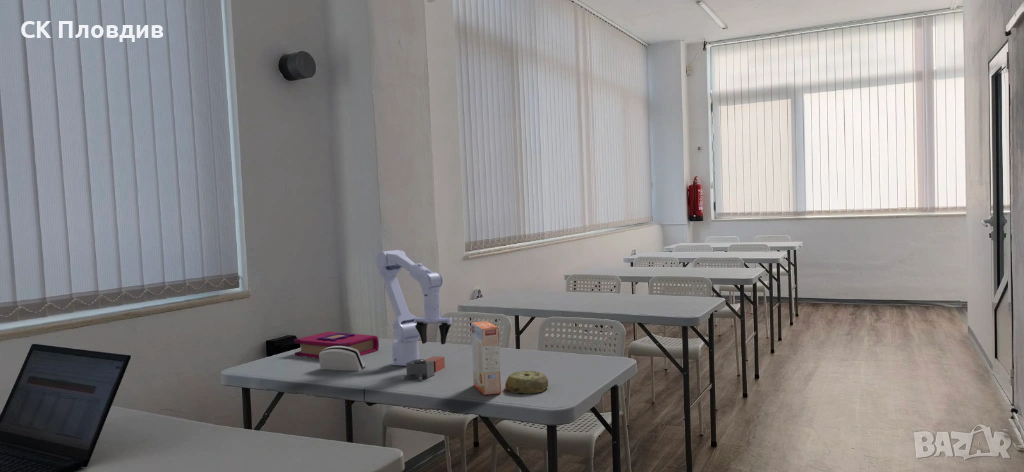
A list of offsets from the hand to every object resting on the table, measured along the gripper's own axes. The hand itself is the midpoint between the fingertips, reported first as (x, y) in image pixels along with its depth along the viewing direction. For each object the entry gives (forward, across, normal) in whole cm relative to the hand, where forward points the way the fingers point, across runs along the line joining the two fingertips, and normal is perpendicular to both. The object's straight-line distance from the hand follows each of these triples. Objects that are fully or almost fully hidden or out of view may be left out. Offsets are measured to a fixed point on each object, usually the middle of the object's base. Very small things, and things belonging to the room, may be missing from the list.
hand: (433, 343), depth 252 cm
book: (+10, -55, +18) cm, 59 cm away
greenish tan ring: (+10, +42, -18) cm, 46 cm away
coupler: (+9, 0, -7) cm, 12 cm away
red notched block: (+10, 0, 0) cm, 10 cm away
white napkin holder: (+10, -35, -7) cm, 37 cm away
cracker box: (+10, +30, -22) cm, 38 cm away
